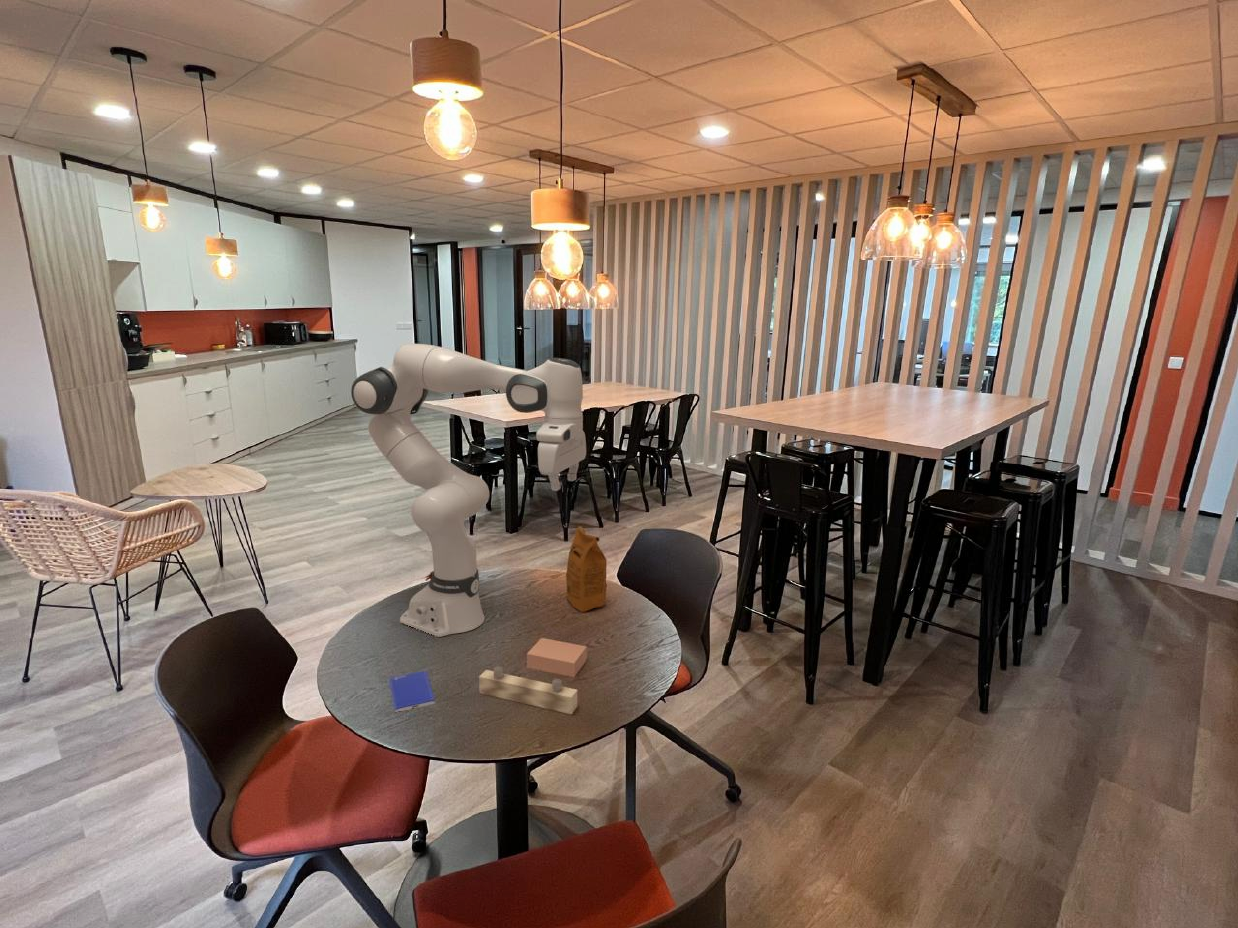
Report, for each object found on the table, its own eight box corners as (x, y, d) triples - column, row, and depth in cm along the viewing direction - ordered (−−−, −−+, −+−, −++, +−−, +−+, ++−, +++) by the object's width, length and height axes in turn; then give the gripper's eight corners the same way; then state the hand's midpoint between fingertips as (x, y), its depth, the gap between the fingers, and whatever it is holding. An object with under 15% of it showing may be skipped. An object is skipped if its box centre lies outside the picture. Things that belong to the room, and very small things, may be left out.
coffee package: (592, 591, 191) (592, 522, 186) (610, 608, 180) (611, 535, 175) (561, 597, 187) (561, 526, 182) (578, 614, 176) (578, 540, 171)
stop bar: (479, 692, 139) (478, 668, 137) (486, 685, 142) (485, 661, 140) (571, 714, 132) (571, 688, 131) (577, 706, 135) (577, 681, 133)
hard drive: (388, 677, 142) (394, 708, 131) (426, 669, 146) (435, 699, 135) (389, 683, 143) (395, 715, 132) (426, 675, 146) (435, 705, 135)
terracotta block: (527, 668, 149) (526, 653, 148) (541, 652, 157) (541, 637, 156) (574, 678, 146) (574, 663, 145) (586, 661, 153) (586, 646, 152)
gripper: (569, 420, 159) (569, 474, 162) (532, 434, 140) (533, 494, 143) (592, 422, 157) (592, 476, 160) (558, 436, 138) (558, 497, 141)
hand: (564, 485), depth 152 cm, fingers open, 8 cm apart
